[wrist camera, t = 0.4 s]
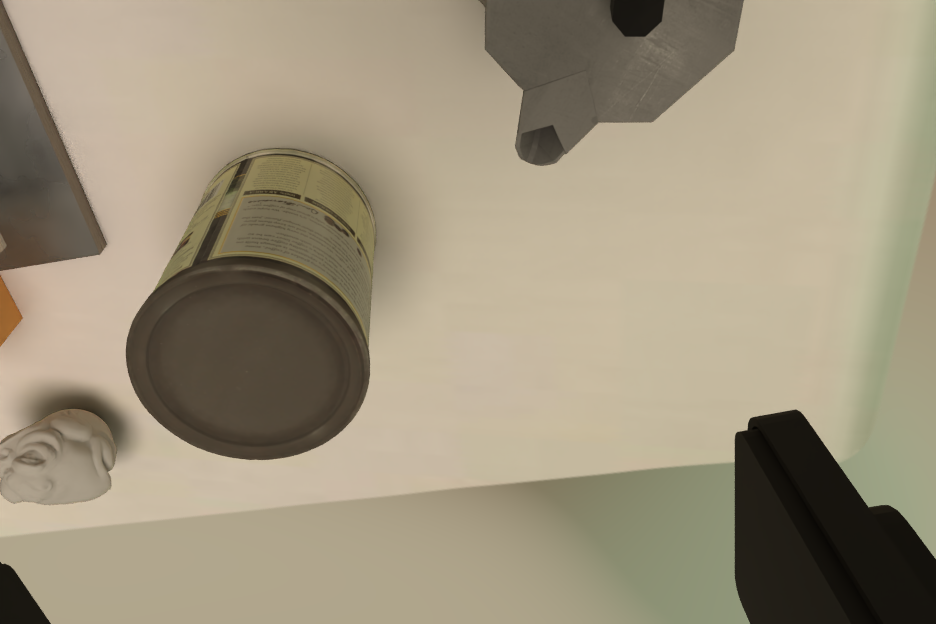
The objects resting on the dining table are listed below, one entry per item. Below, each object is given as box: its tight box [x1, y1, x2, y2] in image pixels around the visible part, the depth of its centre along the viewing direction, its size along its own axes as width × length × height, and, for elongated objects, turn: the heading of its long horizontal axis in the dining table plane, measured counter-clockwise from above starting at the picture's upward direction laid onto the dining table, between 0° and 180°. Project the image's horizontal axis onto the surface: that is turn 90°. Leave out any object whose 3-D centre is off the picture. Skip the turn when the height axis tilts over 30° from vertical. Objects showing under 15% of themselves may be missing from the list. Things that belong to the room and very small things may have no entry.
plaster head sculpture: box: [0, 409, 117, 505], centre depth 49 cm, size 6×7×7 cm
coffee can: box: [126, 149, 376, 460], centre depth 40 cm, size 10×10×14 cm
